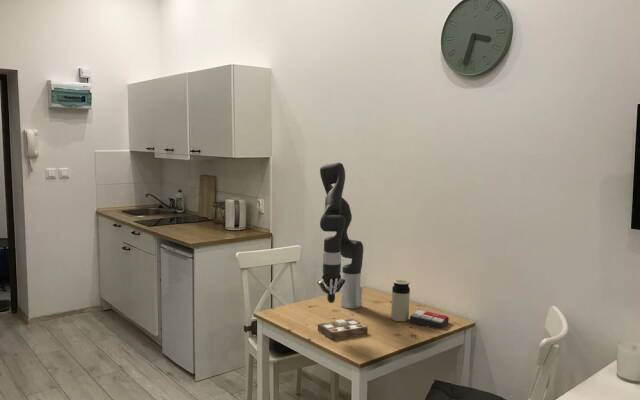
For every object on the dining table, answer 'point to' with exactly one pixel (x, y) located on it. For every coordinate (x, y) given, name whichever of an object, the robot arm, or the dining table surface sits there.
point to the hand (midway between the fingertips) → (331, 302)
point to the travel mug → (400, 300)
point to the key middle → (340, 323)
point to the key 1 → (328, 326)
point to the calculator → (429, 319)
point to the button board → (343, 330)
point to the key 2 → (352, 322)
